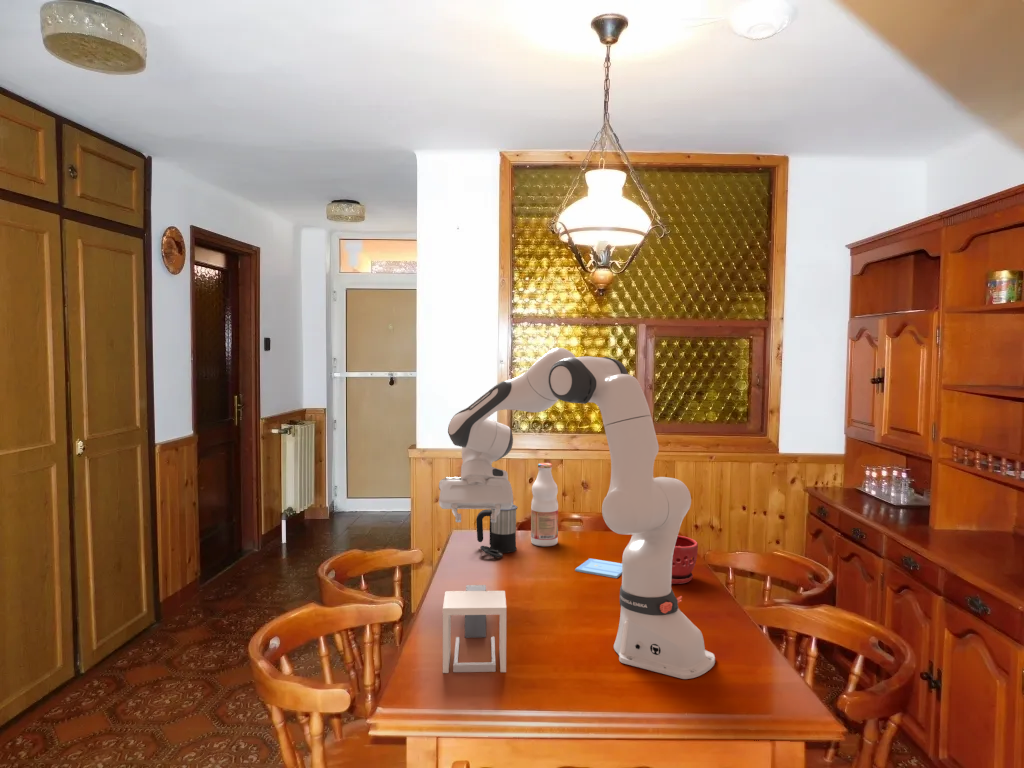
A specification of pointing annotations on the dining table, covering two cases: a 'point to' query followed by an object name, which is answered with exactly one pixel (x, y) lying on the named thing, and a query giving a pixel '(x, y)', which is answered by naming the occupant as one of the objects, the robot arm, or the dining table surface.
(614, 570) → the light blue flat slab
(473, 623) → the grey block
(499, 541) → the milk frother
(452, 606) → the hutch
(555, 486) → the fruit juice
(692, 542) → the plant pot
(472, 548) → the dining table surface
